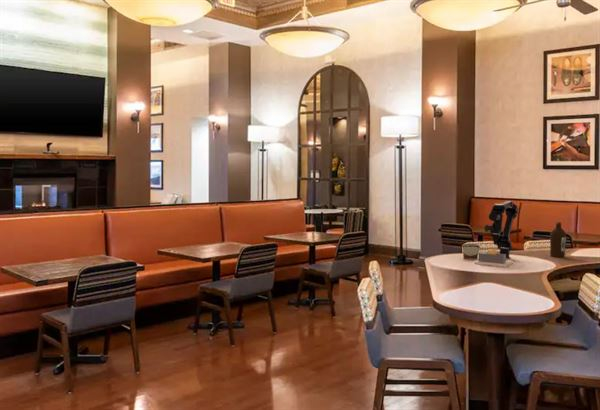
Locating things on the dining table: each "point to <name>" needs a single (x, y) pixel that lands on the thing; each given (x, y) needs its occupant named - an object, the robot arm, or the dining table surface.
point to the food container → (470, 251)
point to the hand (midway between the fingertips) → (495, 244)
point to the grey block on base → (493, 259)
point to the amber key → (492, 251)
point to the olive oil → (557, 241)
